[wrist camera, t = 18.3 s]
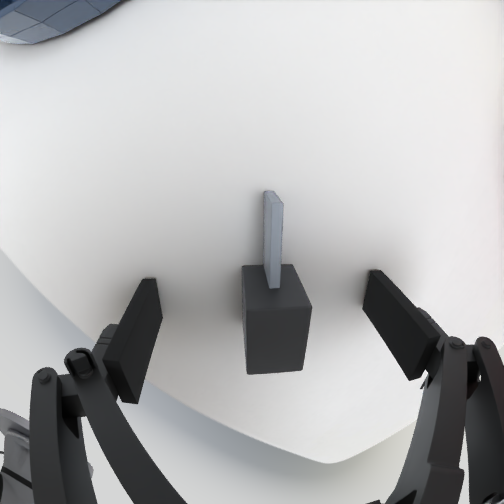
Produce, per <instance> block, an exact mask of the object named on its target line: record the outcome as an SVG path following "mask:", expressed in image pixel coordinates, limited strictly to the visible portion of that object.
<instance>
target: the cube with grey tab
mask: <svg viewBox="0 0 504 504" xmlns="http://www.w3.org/2000/svg"><path fill="white" fill-rule="evenodd" d="M282 230H283V202H282V201H281V200H280V198H279V197H278V196H277V195H276V193H275V192H274V191H265V192H264V252H263V265H262V266H242V302H243V332H244V344H245V357H246V370H247V374H249V375H250V374H267V373H280V372H292V371H301V370H302V369H303V364H304V358H305V352H306V346H307V339H308V333H309V326H310V319H311V312H312V305H311V303H310V301H309V299H308V296H307V294H306V292H305V290H304V288H303V286H302V283H301V281H300V279H299V277H298V275H297V273H296V270H295V268H294V266H293V265H281V254H282Z"/></svg>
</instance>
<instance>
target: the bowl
mask: <svg viewBox="0 0 504 504" xmlns="http://www.w3.org/2000/svg"><path fill="white" fill-rule="evenodd" d="M120 1H121V0H0V41H4V42H8V43H11V44H35V43H38V42H41V41H43V40H46V39H49V38H52V37H55V36H58V35H62V34H64V33H67V32H68V31H70V30H72V29H74V28H75V27H77V26H79V25H81V24H83V23H85V22H86V21H88V20H90V19H92V18H94V17H96V16H98V15H101V14H102V13H104V12H105V11H107V10H108V9H109V8H111V7H112V6H114V5H115V4H117V3H118V2H120Z"/></svg>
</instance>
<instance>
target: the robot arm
mask: <svg viewBox="0 0 504 504" xmlns="http://www.w3.org/2000/svg"><path fill="white" fill-rule="evenodd" d="M362 309H363V310H364V312H365V313H366V315H367V316H368V318H369V319H370V321H371V322H372V324H373V325H374V327H375V328H376V330H377V331H378V333H379V334H380V336H381V337H382V339H383V340H384V342H385V343H386V345H387V346H388V348H389V350H390V351H391V353H392V354H393V356H394V357H395V359H396V361H397V362H398V364H399V365H400V367H401V369H402V370H403V372H404V373H405V375H406V377H407V378H408V380H409V381H411V380H414V379H417V378H421V376H422V374H423V372H424V370H425V369H426V371H427V372H428V375H427V377H426V379H425V381H424V382H423V384H422V386H421V388H420V389H422V388H423V387H424V391H423V396H422V401H421V406H420V410H419V415H418V419H417V423H416V427H415V431H414V434H413V438H412V441H411V445H410V448H409V451H408V454H407V458H406V460H405V464H404V467H403V469H402V472H401V475H400V477H399V480H398V483H397V485H396V488H395V490H394V491H393V493H392V494H391V495H390V496H389V498H388V499H387V501H386V503H385V504H458V501H459V497H460V493H461V489H462V485H463V480H464V470H463V469H460V468H459V462H460V456H461V450H462V444H463V436H464V427H465V432H466V441H467V451H468V465H469V502H470V504H504V365H503V363H502V360H501V358H500V355H499V353H498V351H497V348H496V346H495V344H494V343H493V341H491V340H490V339H489V338H487V337H479V338H477V340H476V342H475V344H474V345H466V344H465V343H464V342H463V341H462V340H461V339H460V338H457V337H453V336H451V337H448V335H447V334H446V333H445V332H444V331H443V330H442V329H441V327H440V326H439V325H438V324H437V323H435V321H434V320H433V319H431V316H430V315H429V314H428V313H427V312H426V311H424V310H423V309H421V308H419V307H418V308H416V307H415V305H414V304H413V303H412V302H411V301H410V300H409V299H408V298H407V297H406V296H405V295H404V294H403V293H402V292H401V290H400V289H399V288H398V287H397V286H396V285H395V284H394V283H393V282H392V281H391V280H390V279H389V278H388V277H387V276H386V275H385V274H384V273H383V272H382V271H381V270H377V271H370V276H369V281H368V286H367V290H366V295H365V299H364V304H363V308H362ZM162 319H163V317H162V312H161V307H160V302H159V296H158V291H157V285H156V280H155V279H142V281H141V283H140V285H139V287H138V288H137V290H136V292H135V294H134V296H133V298H132V300H131V301H130V303H129V305H128V307H127V309H126V311H125V313H124V315H123V317H122V319H121V321H120V323H119V324H109V325H108V326H107V327H106V328H105V329H104V330H103V331H102V333H101V335H100V338H99V339H98V341H97V342H96V343H97V344H95V346H94V348H93V350H92V352H91V351H90V350H89V349H86V348H77V349H74V350H72V351H70V352H69V353H68V354H67V355H66V357H65V359H64V363H65V366H66V368H67V370H68V371H69V373H70V374H65V375H57V373H56V371H55V370H54V369H53V368H50V367H45V368H42V369H40V370H38V371H37V372H36V373H35V374H34V376H33V380H32V390H31V401H30V418H29V419H30V420H29V436H27V435H25V434H23V433H21V432H19V431H17V430H14V429H8V430H7V432H6V434H5V441H4V452H2V451H0V453H1V454H4V463H3V466H2V469H1V472H0V504H97V500H96V496H95V493H94V489H93V485H92V481H91V476H90V472H89V467H88V462H87V457H86V451H85V445H84V438H83V431H82V423H81V417H85V416H87V418H88V421H89V423H90V425H91V428H92V430H93V432H94V434H95V436H96V438H97V440H98V442H99V445H100V446H101V449H102V450H103V452H104V454H105V456H106V458H107V460H108V462H109V464H110V465H111V467H112V469H113V471H114V473H115V474H116V476H117V477H118V479H119V481H120V483H121V484H122V486H123V488H124V489H125V491H126V492H127V494H128V495H129V497H130V498H131V500H132V501H133V503H134V504H187V503H186V502H185V501H184V500H183V498H182V497H181V496H180V495H179V494H178V492H177V491H176V490H175V489H174V488H173V487H172V485H171V484H170V483H169V481H168V480H167V479H166V478H165V476H164V475H163V474H162V472H161V471H160V470H159V468H158V467H157V466H156V464H155V463H154V461H153V460H152V459H151V457H150V456H149V454H148V453H147V452H146V450H145V449H144V447H143V446H142V444H141V443H140V441H139V440H138V438H137V436H136V435H135V433H134V432H133V431H132V428H131V427H130V425H129V423H128V422H127V420H126V418H125V417H124V415H123V413H122V412H121V410H120V408H119V406H118V404H117V403H116V401H117V398H118V395H119V397H120V399H121V401H122V402H124V403H132V404H138V402H139V398H140V394H141V390H142V387H143V383H144V379H145V376H146V372H147V369H148V365H149V362H150V358H151V355H152V352H153V348H154V345H155V342H156V338H157V335H158V332H159V329H160V326H161V322H162ZM480 375H481V381H480V380H479V376H480ZM367 504H381V503H380V500H377V501H373V502H370V503H367Z"/></svg>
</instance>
